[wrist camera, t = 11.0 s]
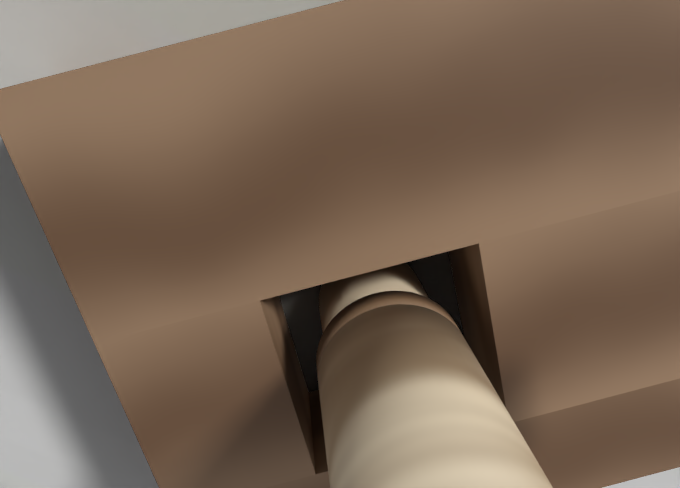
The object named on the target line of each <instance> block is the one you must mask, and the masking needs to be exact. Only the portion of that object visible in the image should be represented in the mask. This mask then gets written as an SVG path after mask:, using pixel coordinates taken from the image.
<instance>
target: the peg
mask: <svg viewBox="0 0 680 488" xmlns="http://www.w3.org/2000/svg"><path fill="white" fill-rule="evenodd" d="M318 302H319V312H320V319H321V326H322V333H323V334H322V336H321V339H320V341H319V344H318V348H317V354H316V369H317V378H318V386H319V395H320V404H321V413H322V421H323V430H324V439H325V448H326V456H327V465H328V474H329V483H330V488H553V487H552V485H551V484H550V482H549V480H548V478H547V477H546V475H545V473H544V472H543V470H542V468H541V467H540V465H539V463H538V462H537V460H536V458H535V457H534V455H533V453H532V451H531V450H530V448H529V446H528V445H527V443H526V441H525V440H524V438H523V436H522V435H521V433H520V431H519V430H518V428H517V426H516V424H515V423H514V421H513V419H512V418H511V416H510V414H509V413H508V411H507V409H506V408H505V406H504V404H503V402H502V401H501V399H500V397H499V396H498V394H497V392H496V391H495V389H494V387H493V386H492V384H491V382H490V381H489V379H488V377H487V375H486V374H485V372H484V370H483V369H482V367H481V365H480V364H479V362H478V360H477V359H476V357H475V355H474V354H473V352H472V350H471V348H470V347H469V345H468V343H467V342H466V340H465V338H464V337H463V335H462V333H461V332H460V330H459V328H458V326H457V325H456V323H455V322H454V320H453V318H452V317H451V316H450V314H449V313H448V312H447V311H446V310H445V309H444V308H443V307H442V306H440V305H439V304H438V303H436V302H435V301H433V300H431V299H429V297H428V296H427V294H426V292H425V290H424V288H423V286H422V285H421V283H420V281H419V279H418V277H417V276H416V274H415V272H414V271H413V270H412V268H411V267H410V266H409V265H408V264H407V263H402V264H398V265H394V266H390V267H386V268H383V269H379V270H375V271H371V272H367V273H363V274H360V275H356V276H352V277H348V278H344V279H341V280H337V281H333V282H329V283H325V284H322V286H321V289H320V293H319V301H318Z"/></svg>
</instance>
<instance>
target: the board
mask: <svg viewBox="0 0 680 488" xmlns="http://www.w3.org/2000/svg"><path fill="white" fill-rule="evenodd" d="M0 135H1V137H2V139H3V142H4V144H5V146H6V148H7V151H8V153H9V155H10V157H11V159H12V162H13V164H14V166H15V168H16V171H17V173H18V175H19V177H20V179H21V182H22V184H23V186H24V188H25V191H26V193H27V195H28V197H29V199H30V202H31V204H32V206H33V208H34V211H35V213H36V215H37V217H38V219H39V222H40V224H41V226H42V228H43V231H44V233H45V235H46V237H47V239H48V242H49V244H50V246H51V248H52V251H53V253H54V255H55V257H56V259H57V262H58V264H59V266H60V268H61V271H62V273H63V275H64V277H65V279H66V282H67V284H68V286H69V288H70V291H71V293H72V295H73V297H74V299H75V302H76V304H77V306H78V308H79V311H80V313H81V315H82V317H83V319H84V322H85V324H86V326H87V328H88V331H89V333H90V335H91V337H92V339H93V342H94V344H95V346H96V348H97V351H98V353H99V355H100V357H101V359H102V362H103V364H104V366H105V368H106V371H107V373H108V375H109V377H110V380H111V382H112V384H113V386H114V388H115V391H116V393H117V395H118V397H119V400H120V402H121V404H122V406H123V408H124V411H125V413H126V415H127V417H128V420H129V422H130V424H131V426H132V428H133V431H134V433H135V435H136V437H137V440H138V442H139V444H140V446H141V448H142V451H143V453H144V455H145V457H146V460H147V462H148V464H149V466H150V468H151V471H152V473H153V475H154V477H155V480H156V482H157V484H158V486H159V488H330V483H329V474H328V465H327V456H326V448H325V439H324V430H323V421H322V413H321V404H320V395H319V390H315V391H311V392H309V391H308V388H307V385H306V382H305V378H304V375H303V372H302V369H301V365H300V362H299V359H298V356H297V353H296V349H295V346H294V343H293V340H292V336H291V333H290V330H289V327H288V323H287V320H286V317H285V314H284V310H283V307H282V304H281V301H280V297H279V295H283V294H287V293H291V292H295V291H298V290H302V289H306V288H310V287H314V286H318V285H321V284H325V283H329V282H333V281H337V280H341V279H344V278H348V277H352V276H356V275H360V274H363V273H367V272H371V271H375V270H379V269H383V268H386V267H390V266H394V265H398V264H402V263H406V262H409V261H413V260H417V259H421V258H425V257H429V256H432V255H436V254H440V253H444V252H448V253H449V258H450V264H451V269H452V274H453V280H454V285H455V291H456V296H457V301H458V307H459V312H460V317H461V323H462V328H463V333H464V338H465V340H466V342H467V343H468V345H469V347H470V348H471V350H472V352H473V354H474V355H475V357H476V359H477V360H478V362H479V364H480V365H481V367H482V369H483V370H484V372H485V374H486V375H487V377H488V379H489V381H490V382H491V384H492V386H493V387H494V389H495V391H496V392H497V394H498V396H499V397H500V399H501V401H502V402H503V404H504V406H505V408H506V409H507V411H508V413H509V414H510V416H511V418H512V419H513V421H514V423H515V424H516V426H517V428H518V430H519V431H520V433H521V435H522V436H523V438H524V440H525V441H526V443H527V445H528V446H529V448H530V450H531V451H532V453H533V455H534V457H535V458H536V460H537V462H538V463H539V465H540V467H541V468H542V470H543V472H544V473H545V475H546V477H547V478H548V480H549V482H550V484H551V485H552V487H553V488H602V487H606V486H609V485H613V484H617V483H621V482H624V481H628V480H632V479H636V478H640V477H643V476H647V475H651V474H655V473H658V472H662V471H666V470H670V469H674V468H677V467H680V0H343V1H340V2H336V3H332V4H328V5H324V6H320V7H316V8H312V9H309V10H305V11H301V12H297V13H293V14H289V15H285V16H281V17H277V18H274V19H270V20H266V21H262V22H258V23H254V24H250V25H246V26H243V27H239V28H235V29H231V30H227V31H223V32H219V33H215V34H211V35H208V36H204V37H200V38H196V39H192V40H188V41H184V42H180V43H177V44H173V45H169V46H165V47H161V48H157V49H153V50H149V51H146V52H142V53H138V54H134V55H130V56H126V57H122V58H118V59H114V60H111V61H107V62H103V63H99V64H95V65H91V66H87V67H83V68H80V69H76V70H72V71H68V72H64V73H60V74H56V75H52V76H48V77H45V78H41V79H37V80H33V81H29V82H25V83H21V84H17V85H14V86H10V87H6V88H2V89H0Z"/></svg>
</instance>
